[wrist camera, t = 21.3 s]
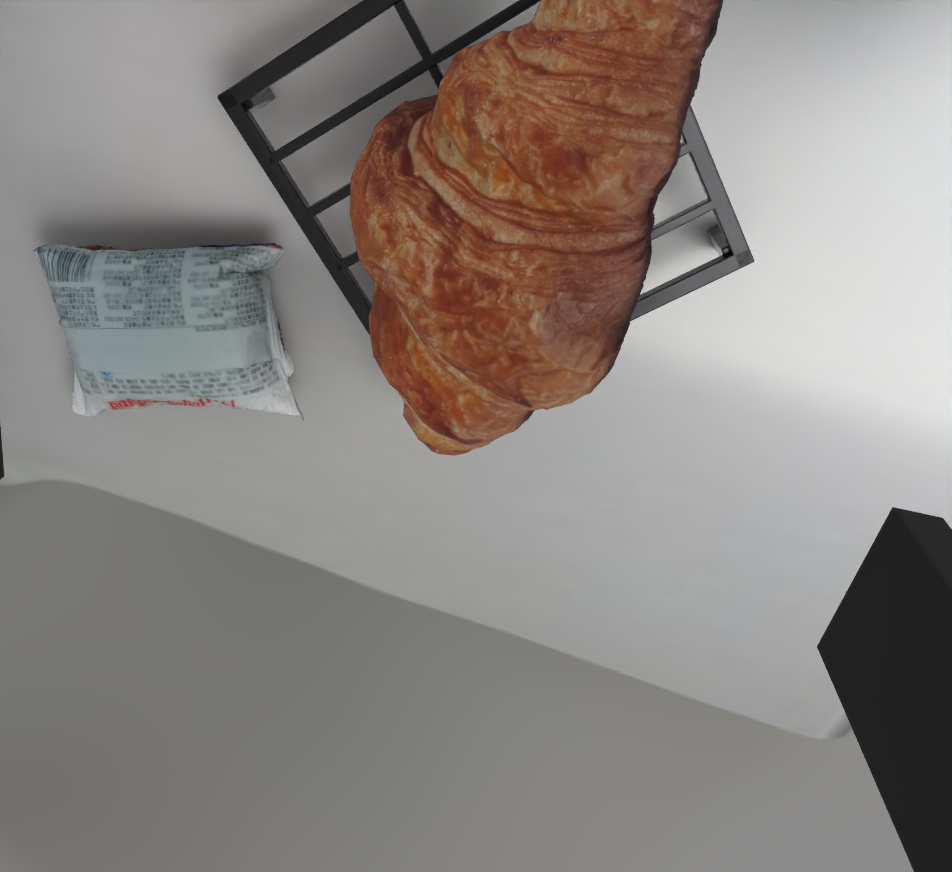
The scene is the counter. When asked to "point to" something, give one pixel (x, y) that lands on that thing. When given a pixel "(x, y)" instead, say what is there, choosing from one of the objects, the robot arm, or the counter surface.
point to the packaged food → (170, 326)
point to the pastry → (523, 211)
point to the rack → (257, 91)
